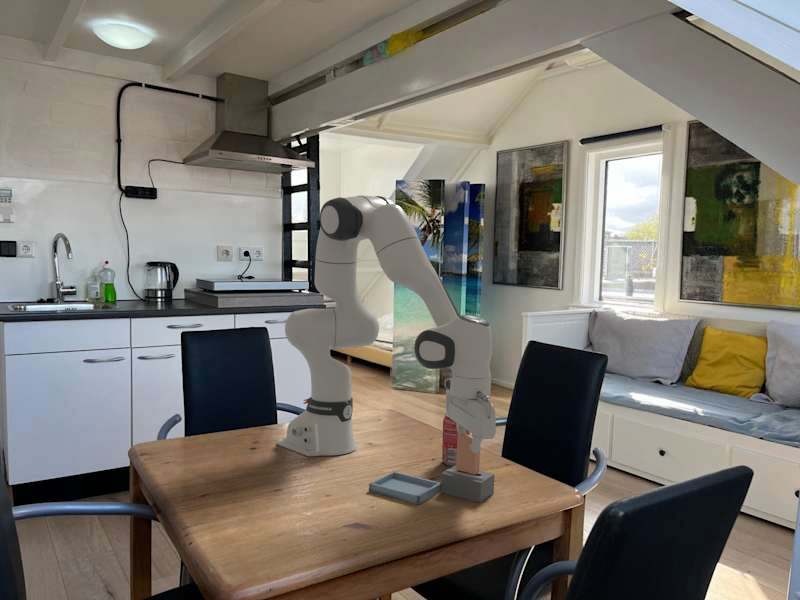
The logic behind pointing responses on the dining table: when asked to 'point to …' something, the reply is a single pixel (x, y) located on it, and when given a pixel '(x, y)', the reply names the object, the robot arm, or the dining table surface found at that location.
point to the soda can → (450, 441)
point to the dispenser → (467, 484)
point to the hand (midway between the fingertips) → (468, 447)
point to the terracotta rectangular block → (466, 455)
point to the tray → (405, 487)
